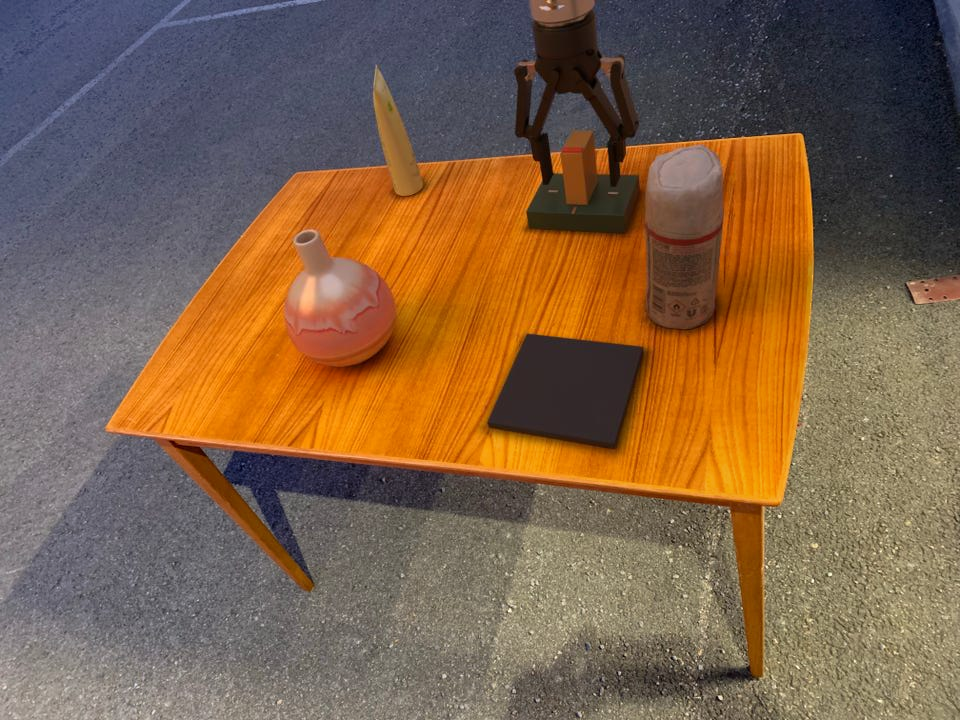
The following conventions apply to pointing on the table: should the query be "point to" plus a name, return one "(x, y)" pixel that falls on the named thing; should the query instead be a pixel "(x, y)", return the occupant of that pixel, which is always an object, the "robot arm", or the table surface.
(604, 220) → the green rectangular block
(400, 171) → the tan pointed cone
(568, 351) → the mat
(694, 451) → the table surface
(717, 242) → the spray can
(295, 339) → the vase
